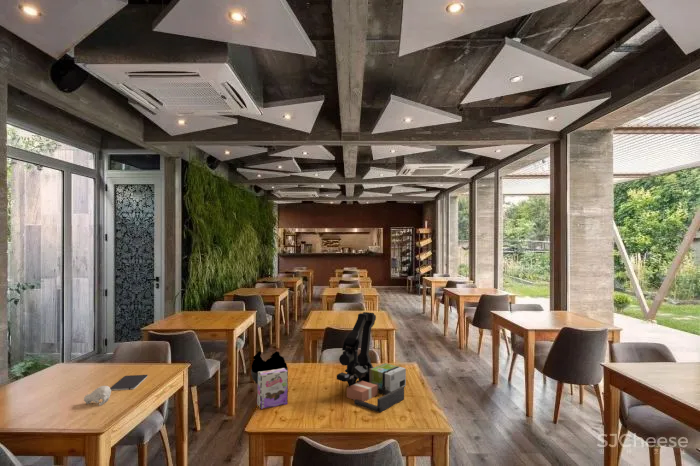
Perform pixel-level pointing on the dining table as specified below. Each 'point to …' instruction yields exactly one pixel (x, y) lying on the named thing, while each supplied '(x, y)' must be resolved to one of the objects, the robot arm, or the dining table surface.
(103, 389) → the grey rounded lump
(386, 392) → the display stand
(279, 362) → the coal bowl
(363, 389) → the carton
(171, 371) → the dining table surface
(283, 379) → the candy box
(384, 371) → the tea box
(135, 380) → the notebook
